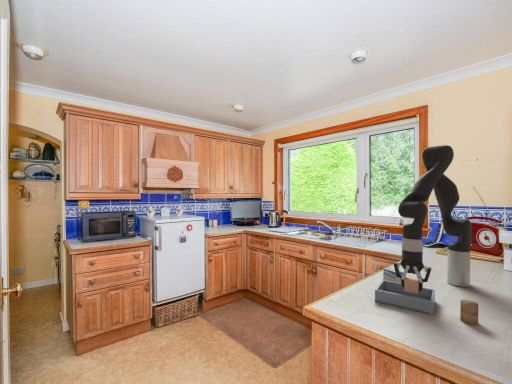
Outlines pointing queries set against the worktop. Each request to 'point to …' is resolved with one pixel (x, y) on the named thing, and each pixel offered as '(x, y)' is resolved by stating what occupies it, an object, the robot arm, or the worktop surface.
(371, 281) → the worktop surface
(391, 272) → the medicine box
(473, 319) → the walnut cylinder
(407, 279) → the terracotta cube
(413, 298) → the tote
